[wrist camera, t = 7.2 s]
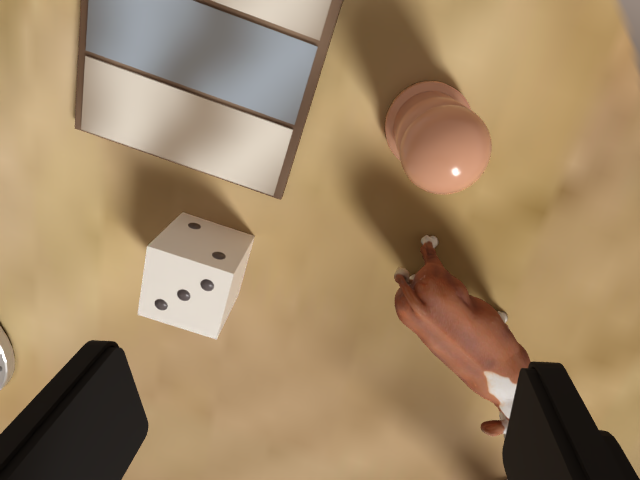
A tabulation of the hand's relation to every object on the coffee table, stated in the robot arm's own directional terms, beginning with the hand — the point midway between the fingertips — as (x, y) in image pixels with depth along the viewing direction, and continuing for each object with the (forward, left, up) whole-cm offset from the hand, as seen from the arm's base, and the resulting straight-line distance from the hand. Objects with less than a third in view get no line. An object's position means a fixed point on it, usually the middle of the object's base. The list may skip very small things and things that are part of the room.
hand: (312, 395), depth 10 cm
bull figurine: (+10, -6, -17) cm, 21 cm away
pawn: (+3, +4, -17) cm, 18 cm away
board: (-10, +6, -17) cm, 21 cm away
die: (-7, -8, -17) cm, 20 cm away
